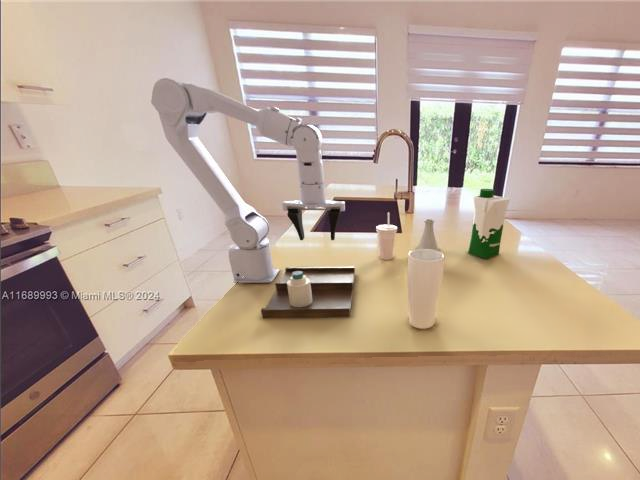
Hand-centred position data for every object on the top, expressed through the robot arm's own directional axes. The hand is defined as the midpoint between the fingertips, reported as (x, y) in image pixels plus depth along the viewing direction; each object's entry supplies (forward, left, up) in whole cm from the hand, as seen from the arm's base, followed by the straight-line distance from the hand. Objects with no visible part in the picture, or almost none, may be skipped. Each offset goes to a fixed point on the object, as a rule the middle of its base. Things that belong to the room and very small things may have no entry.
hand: (317, 239), depth 79 cm
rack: (0, -10, -10) cm, 14 cm away
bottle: (-2, -16, -9) cm, 19 cm away
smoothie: (+18, +14, -11) cm, 25 cm away
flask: (+32, +21, -11) cm, 40 cm away
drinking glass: (+24, -24, -11) cm, 36 cm away
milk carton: (+50, +17, -11) cm, 54 cm away
